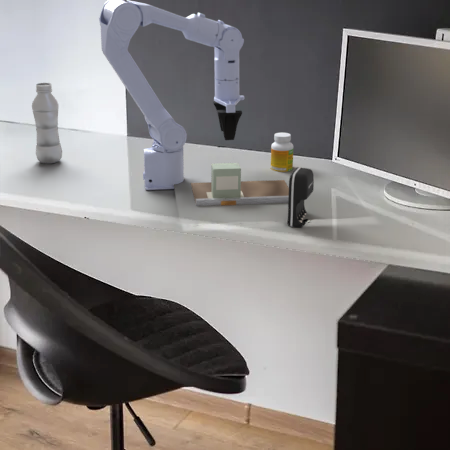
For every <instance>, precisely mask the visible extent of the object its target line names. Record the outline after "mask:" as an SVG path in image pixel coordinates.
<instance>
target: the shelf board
mask: <svg viewBox="0 0 450 450" xmlns="http://www.w3.org/2000/svg"><path fill="white" fill-rule="evenodd" d="M190 187H191V190H192V193H193V194H192V195H193V198H194V199H193V200H194V203H195V206H197V207H198V206H199V207H200V206H203V207H204V206H205V207H206V206H236V205H258V204H260V205H261V204H283V203H284V204H285V203H286V204H288V198H289V185H288V184H287V182H286V180H285V179H281V180H280V179H279V180H278V179H277V180H274V179H273V180H245V181H242V180H241V197H233V198H213V197H212V194H211V182H191V183H190Z"/></svg>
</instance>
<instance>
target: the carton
mask: <svg viewBox="0 0 450 450" xmlns="http://www.w3.org/2000/svg"><path fill="white" fill-rule="evenodd" d="M210 165H211V167H210V168H211V170H210V171H211V173H210V174H211V175H210V176H211V194H212V197H213V198H233V197H241V181H242V167H241V166H240V164H239V162H228V163H227V162H224V163H222V162H221V163H218V162H217V163H211V164H210Z"/></svg>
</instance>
